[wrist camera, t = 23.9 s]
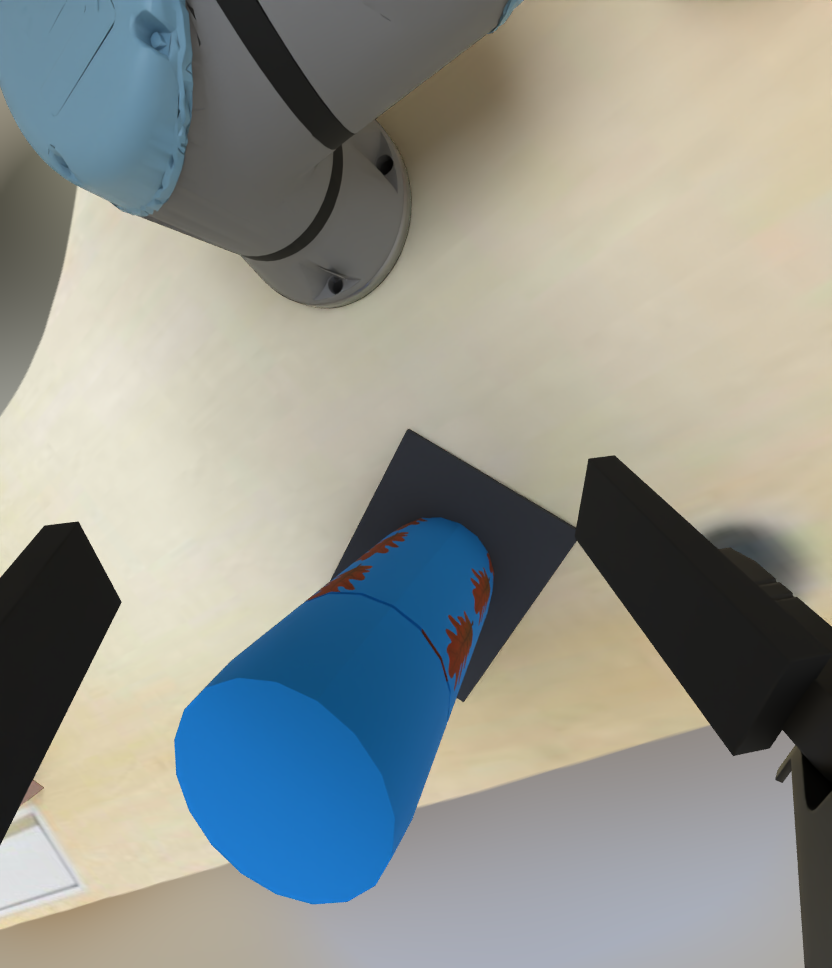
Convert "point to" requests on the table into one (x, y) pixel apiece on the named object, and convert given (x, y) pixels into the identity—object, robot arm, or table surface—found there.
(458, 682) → the thermos
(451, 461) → the desk mat
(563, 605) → the table surface
